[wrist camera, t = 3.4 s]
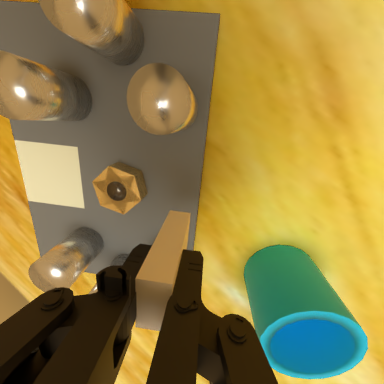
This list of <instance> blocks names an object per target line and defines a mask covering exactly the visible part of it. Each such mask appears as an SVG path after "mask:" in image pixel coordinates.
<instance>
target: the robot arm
mask: <svg viewBox="0 0 384 384" xmlns="http://www.w3.org/2000/svg"><path fill="white" fill-rule="evenodd" d="M190 214H191V213H187V212H179V211H172V210H170V212H169V213H168V215H167V217H166V219H165V221H164V223H163V225H162V227H161V229H160V231H159V233H158V235H157V237H156V239H155V241H154V243H153V245H147V244H139V245H137V246H136V247H135V248H133V250H132V251H131V253H130V254H129V256H128V257H127V259H126V261H125V262H124V263H123V265H122V266H121V265H113V266H109V267H106V268H104V269H102V270H101V271H99V272H98V273H97V274H96V280H97V290H98V291H97V292H96V293H92V294H86V295H78V296H73V291H72V290H70V289H69V288H65V287H60V288H54V289H51V290H48V291H47V292H45V293H43V294H41V295H40V296H38V297H37V298H36V299H34V300H33V301H32V302H30V303H29V304H28V305H26V306H25V307H23V308H22V309H21V310H20V311H18V312H17V313H15V314H14V315H13V316H11V317H10V318H9V319H7V320H6V321H4V322H3V323H2V324H0V384H114V383H115V380H116V377H117V375H118V372H119V370H120V367H121V364H122V362H123V359H124V356H125V354H126V351H127V349H128V346H129V343H130V340H131V329H132V327H133V324H134V322H135V319H136V327H139V328H145V329H150V330H156V331H160V332H159V336H158V340H157V344H156V348H155V352H154V355H153V359H152V363H151V367H150V371H149V375H148V378H147V382H146V384H196V373H198V374H199V375H201V376H203V377H204V378H206V379H207V380H209V382H210V384H278V382H277V380H276V378H275V375H274V373H273V371H272V368H271V366H270V364H269V361H268V359H267V357H266V355H265V352H264V350H263V348H262V345H261V343H260V341H259V338H258V336H257V334H256V332H255V330H254V328H253V326H252V325H251V323H250V322H248V321H247V320H246V319H245V318H244V317H242V316H239V315H236V314H229V315H225V316H224V317H223V318H221V317H219V316H217V315H215V314H213V313H212V312H210V311H209V310H208V309H207V308H206V307H205V306H204V304H203V303H202V300H201V286H202V271H203V256H202V254H201V252H200V251H193V250H186V249H187V243H188V234H189V224H190Z"/></svg>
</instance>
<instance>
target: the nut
mask: <svg viewBox="0 0 384 384" xmlns="http://www.w3.org/2000/svg"><path fill="white" fill-rule="evenodd" d="M92 183H93V186H94V189H95V192H96V195H97V197H98V200H99V203H100V206H103V207H105V208H108V209H110V210H113V211H116V212H118V213H121V214H125V213H127V212H128V211H129V210H130V209H131V208H133V207H134V206H135V205H136V204H138V203H139V202H140V201H141V200H142V199H143V198H144V197H145V196H146V195H147V194H148V193H147V189H146V185H145V181H144V177H143V173H142V171H141V170H139V169H136V168H133V167H131V166H128V165H126V164H123V163H120V162H117V163H115V164H112V165H109V166H108V167H107V168H106V169H105V170H104V171H103V172H102V173H101V174H100V175H99V176H98V177H97V178H96V179H94V180H93V181H92Z"/></svg>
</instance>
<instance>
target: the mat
mask: <svg viewBox="0 0 384 384" xmlns="http://www.w3.org/2000/svg"><path fill="white" fill-rule="evenodd" d="M131 10H132V11H133V13H134V14H135V15H136V17H137V18H138V20H139V21H140V23H141V25H142V28H143V32H144V47H143V51H142V53H141V55H140V57H139V58H138V59H137V60H136V61H135V62H134V63H132V64H130V65H127V66H119V65H116V64H114V63H112V62H111V61H109V60H107V59H106V58H104V57H102V56H101V55H99V54H98V53H96V52H94V51H93V50H91V49H89V48H88V47H86V46H85V45H83V44H81V43H80V42H78V41H76V40H75V39H73V38H71V37H70V36H68V35H67V34H65V33H63V32H62V31H60V30H59V29H57V28H56V27H55V26H54V25H53V24H52V23H51V22H50V21H49V20H48V18H47V17H46V15H45V14H44V12H43V10H42V8H41V6H40V3H34V2H18V1H1V0H0V50H1V51H5V52H8V53H11V54H14V55H17V56H20V57H23V58H26V59H28V60H31V61H34V62H37V63H40V64H43V65H46V66H48V67H51V68H54V69H57V70H60V71H63V72H66V73H68V74H71V75H74V76H76V77H78V78H80V79H81V80H82V81H83V82H84V83H85V84H86V85H87V87H88V89H89V91H90V93H91V97H92V109H91V112H90V114H89V115H88V116H87V117H86V118H85V119H83V120H81V121H43V120H12V119H10V123H11V128H12V132H13V136H14V140H15V144H16V149H17V153H18V158H19V162H20V167H21V171H22V175H23V180H24V184H25V189H26V193H27V198H28V203H29V207H30V212H31V216H32V220H33V225H34V229H35V234H36V238H37V243H38V247H39V251H40V256H41V257H42V256H43V255H44V254H46V253H47V252H48V251H50V250H51V249H52V248H53V247H55V246H56V245H57V244H59V243H60V242H61V241H63V240H64V239H65V238H66V237H68V236H69V235H70V234H72V233H73V232H74V231H75V230H77V229H78V228H81V227H88V228H91V229H93V230H95V231H96V232H98V233H99V234H100V236H101V237H102V239H103V242H104V247H103V250H102V251H101V252H100V253H99V255H98V256H97V257H96V258H95V259H94V260H93V261H92V263H91V264H90V265H89V266H88V267H87V268H86V269H85V271H84V272H88V273H95V274H97V273H98V272H99V271H101V270H102V269H104V268H106V267H109V265H110V264H111V263H112V261H113V260H114V258H115V257H116V256H118V255H120V254H130V253H131V251H132V250H133V248H135V247H136V246H137V245H139V244H147V245H153V243H154V241H155V239H156V237H157V235H158V233H159V231H160V229H161V227H162V225H163V223H164V221H165V219H166V217H167V215H168V213H169V212H170V210H172V211H179V212H187V213H191V214H190V224H189V234H188V243H187V249H186V250H193V247H194V239H195V230H196V221H197V212H198V204H199V195H200V186H201V178H202V169H203V160H204V151H205V143H206V134H207V125H208V117H209V108H210V99H211V90H212V82H213V73H214V64H215V56H216V47H217V38H218V29H219V21H220V14H216V13H200V12H183V11H166V10H150V9H133V8H131ZM151 63H163V64H167V65H169V66H171V67H173V68H174V69H176V70H177V71H178V72H179V73H180V74H181V75H182V76H183V78H184V79H185V81H186V82H187V84H188V86H189V87H190V89H191V90H192V92H193V93H194V95H195V97H196V100H197V103H198V113H197V117H196V119H195V121H194V123H193V124H192V125H191V126H190V127H189V128H187V129H186V130H183V131H179V132H175V133H170V134H165V135H155V134H151V133H149V132H146V131H145V130H143V129H142V128H140V127H139V126H138V125H137V124H136V122H135V121H134V120H133V118H132V116H131V114H130V112H129V109H128V105H127V89H128V85H129V83H130V80H131V78H132V77H133V75H134V74H135V73H136V72H137V71H138V70H139V69H140V68H142V67H143V66H145V65H147V64H151ZM117 162H120V163H123V164H126V165H128V166H131V167H133V168H136V169H139V170H141V171H142V173H143V177H144V181H145V185H146V189H147V193H148V194H147V195H146V196H145V197H144V198H143V199H142V200H141V201H140V202H139V203H138V204H136V205H135V206H134V207H133V208H131V209H130V210H129V211H128V212H127V213H125V214H121V213H118V212H116V211H113V210H110V209H108V208H105V207H103V206H100V203H99V200H98V197H97V195H96V192H95V189H94V186H93V183H92V181H93V180H94V179H96V178H97V177H98V176H99V175H100V174H101V173H102V172H103V171H104V170H105V169H106V168H107V167H108V166H109V165H112V164H115V163H117Z"/></svg>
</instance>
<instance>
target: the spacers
mask: <svg viewBox="0 0 384 384" xmlns="http://www.w3.org/2000/svg"><path fill="white" fill-rule="evenodd" d="M38 1H39V3H40V6H41V8H42V10H43V12H44V14H45V15H46V17H47V18H48V20H49V21H50V22H51V23H52V24H53V25H54V26H55V27H56V28H57V29H59V30H60V31H62V32H63V33H65V34H67V35H68V36H70V37H71V38H73V39H75V40H76V41H78V42H80V43H81V44H83V45H85V46H86V47H88V48H89V49H91V50H93V51H94V52H96V53H98V54H99V55H101V56H102V57H104V58H106V59H107V60H109V61H111V62H112V63H114V64H116V65H119V66H127V65H130V64H132V63H134V62H135V61H136V60H137V59H138V58H139V57H140V55H141V53H142V51H143V47H144V32H143V28H142V25H141V23H140V21H139V20H138V18H137V17H136V15H135V14H134V13H133V11H132V10H131V8H130V7H129V6H128V4H127V3H126V1H125V0H38ZM127 105H128V109H129V112H130V114H131V116H132V118H133V120H134V121H135V122H136V124H137V125H138V126H139V127H140V128H142V129H143V130H145V131H146V132H149V133H151V134H155V135H165V134H170V133H175V132H179V131H183V130H186V129H187V128H189V127H190V126H191V125H192V124H193V123H194V121H195V119H196V117H197V113H198V103H197V100H196V97H195V95H194V93H193V92H192V90H191V89H190V87H189V86H188V84H187V82H186V81H185V79H184V78H183V76H182V75H181V74H180V73H179V72H178V71H177V70H176V69H174V68H173V67H171V66H169V65H167V64H163V63H151V64H147V65H145V66H143V67H142V68H140V69H139V70H138V71H137V72H136V73H135V74H134V75H133V77H132V78H131V80H130V83H129V85H128V89H127ZM91 109H92V97H91V93H90V91H89V89H88V87H87V85H86V84H85V83H84V82H83V81H82V80H81V79H80V78H78V77H76V76H74V75H71V74H68V73H66V72H63V71H60V70H57V69H54V68H51V67H48V66H46V65H43V64H40V63H37V62H34V61H31V60H28V59H26V58H23V57H20V56H17V55H14V54H11V53H8V52H5V51H1V50H0V115H2V116H4V117H6V118H9V119H12V120H43V121H81V120H83V119H85V118H86V117H87V116H88V115H89V114H90V112H91ZM103 247H104V242H103V239H102V237H101V236H100V234H99V233H98V232H96V231H95V230H93V229H91V228H88V227H81V228H78V229H77V230H75V231H74V232H73V233H72V234H70V235H69V236H68V237H66V238H65V239H64V240H63V241H61V242H60V243H59V244H57V245H56V246H55V247H53V248H52V249H51V250H50V251H48V252H47V253H46V254H44V255H43V256H42V257H41V258H39V259H38V260H37V261H35V262H34V263H33V264H32V265H31V266H30V268H29V276H30V279H31V280H32V282H33V283H34V284H35V285H36V286H37V287H38V288H39V289H41V290H42V291H44V292H47V291H48V290H51V289H54V288H60V287H65V288H70V286H71V285H72V284H73V283H74V282H75V281H76V280H77V279H78V277H79V276H80V275H81V274H82V273H83V272H84V271H85V269H86V268H87V267H88V266H89V265H90V264H91V263H92V261H93V260H94V259H95V258H96V257H97V256H98V255H99V253H100V252H101V251H102V250H103ZM128 256H129V254H120V255H118V256H116V257H115V258H114V260H113V261H112V263H111V264H110V265H109V266H113V265H121V266H122V265H123V263H124V262H125V261H126V259H127V257H128ZM97 291H98V290H97V283H96V284H95V286H94V287H93V288H92V290H91V291H90V293H89V294H92V293H96V292H97Z"/></svg>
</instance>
